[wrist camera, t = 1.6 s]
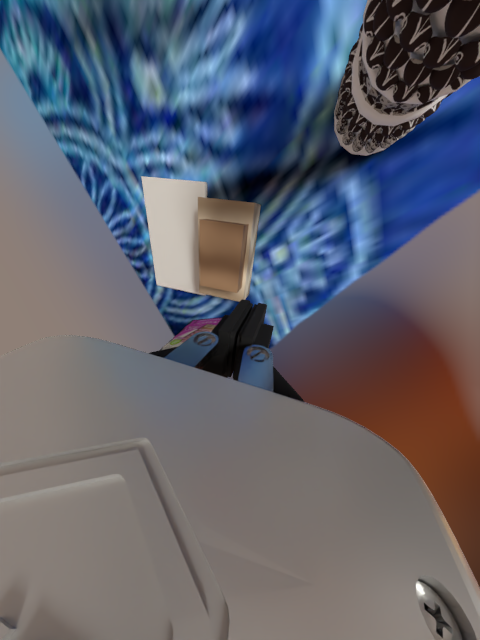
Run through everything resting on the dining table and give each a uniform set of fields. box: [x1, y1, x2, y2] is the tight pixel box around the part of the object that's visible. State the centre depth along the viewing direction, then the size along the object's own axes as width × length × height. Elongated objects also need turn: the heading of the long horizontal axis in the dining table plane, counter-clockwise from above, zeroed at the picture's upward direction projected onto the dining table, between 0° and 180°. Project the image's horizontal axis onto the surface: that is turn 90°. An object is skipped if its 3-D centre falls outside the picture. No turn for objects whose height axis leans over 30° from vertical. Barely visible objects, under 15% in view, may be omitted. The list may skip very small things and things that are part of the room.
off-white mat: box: [141, 176, 207, 296], centre depth 33 cm, size 18×11×1 cm, turn 174°
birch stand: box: [198, 197, 261, 302], centre depth 29 cm, size 14×8×4 cm, turn 174°
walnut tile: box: [199, 219, 249, 293], centre depth 26 cm, size 9×6×2 cm, turn 174°
